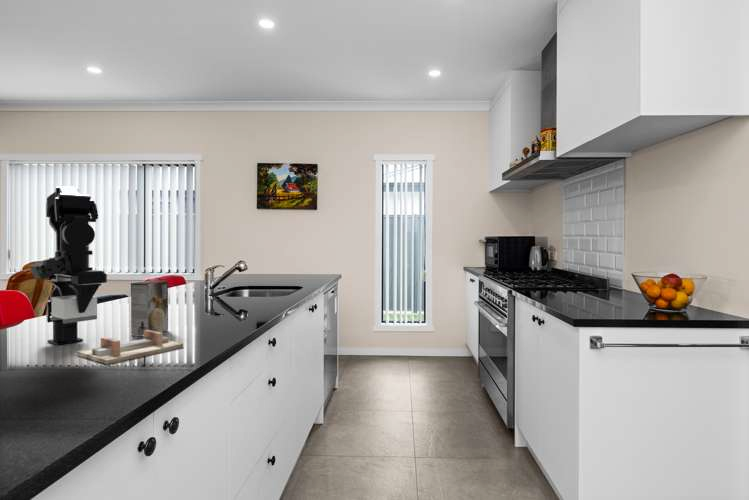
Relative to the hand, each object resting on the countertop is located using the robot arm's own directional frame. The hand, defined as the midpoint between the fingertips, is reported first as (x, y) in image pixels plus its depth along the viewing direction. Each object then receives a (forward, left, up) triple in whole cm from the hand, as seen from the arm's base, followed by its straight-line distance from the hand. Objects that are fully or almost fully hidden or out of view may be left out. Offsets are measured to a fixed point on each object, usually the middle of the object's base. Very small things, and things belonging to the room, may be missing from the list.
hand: (74, 311), depth 106 cm
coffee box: (-14, +27, -12) cm, 33 cm away
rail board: (+3, +12, -12) cm, 17 cm away
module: (0, 0, -2) cm, 2 cm away
